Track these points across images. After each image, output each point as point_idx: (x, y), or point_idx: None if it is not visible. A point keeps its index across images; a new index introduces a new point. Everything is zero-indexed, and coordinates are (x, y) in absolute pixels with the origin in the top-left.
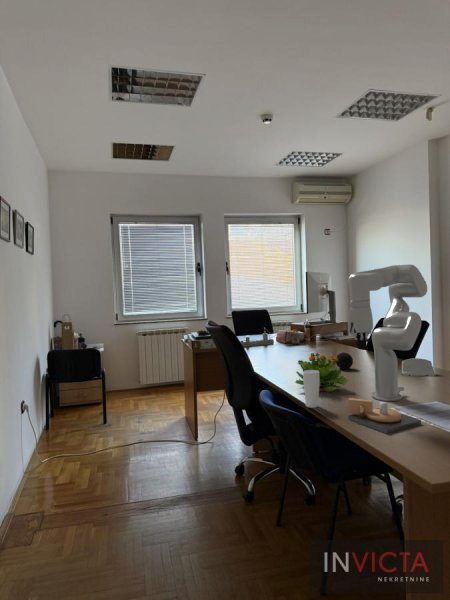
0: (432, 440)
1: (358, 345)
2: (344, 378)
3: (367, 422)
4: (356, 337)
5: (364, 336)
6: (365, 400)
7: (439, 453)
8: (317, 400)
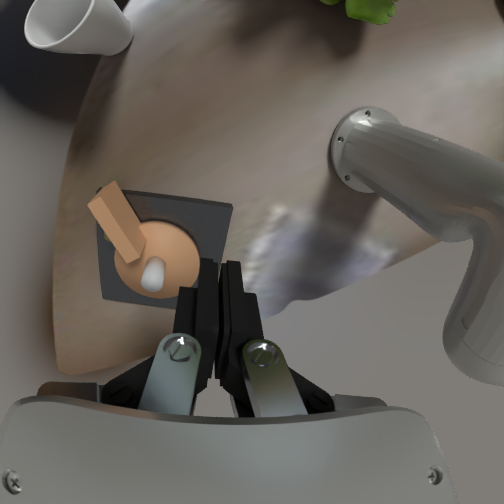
0: (151, 343)
1: (179, 300)
2: (387, 6)
3: (98, 254)
4: (133, 376)
5: (236, 406)
6: (122, 244)
7: (119, 360)
8: (107, 53)
